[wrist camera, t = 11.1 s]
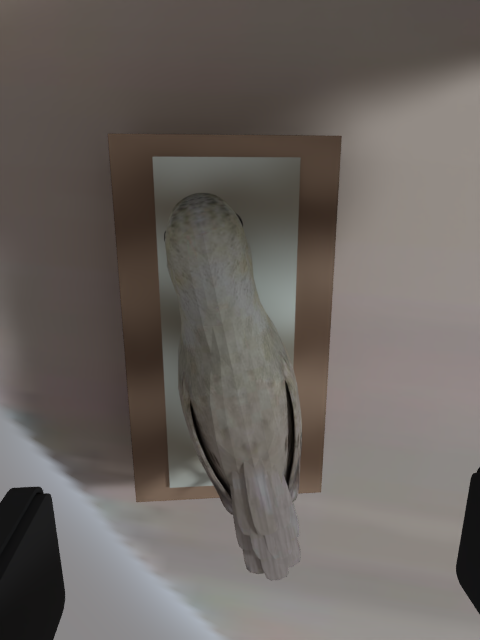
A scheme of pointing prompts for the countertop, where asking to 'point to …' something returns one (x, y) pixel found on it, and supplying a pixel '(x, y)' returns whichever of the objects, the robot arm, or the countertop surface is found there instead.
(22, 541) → the robot arm
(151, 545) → the countertop surface
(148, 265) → the walnut plinth
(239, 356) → the decorative bird
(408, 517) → the countertop surface
